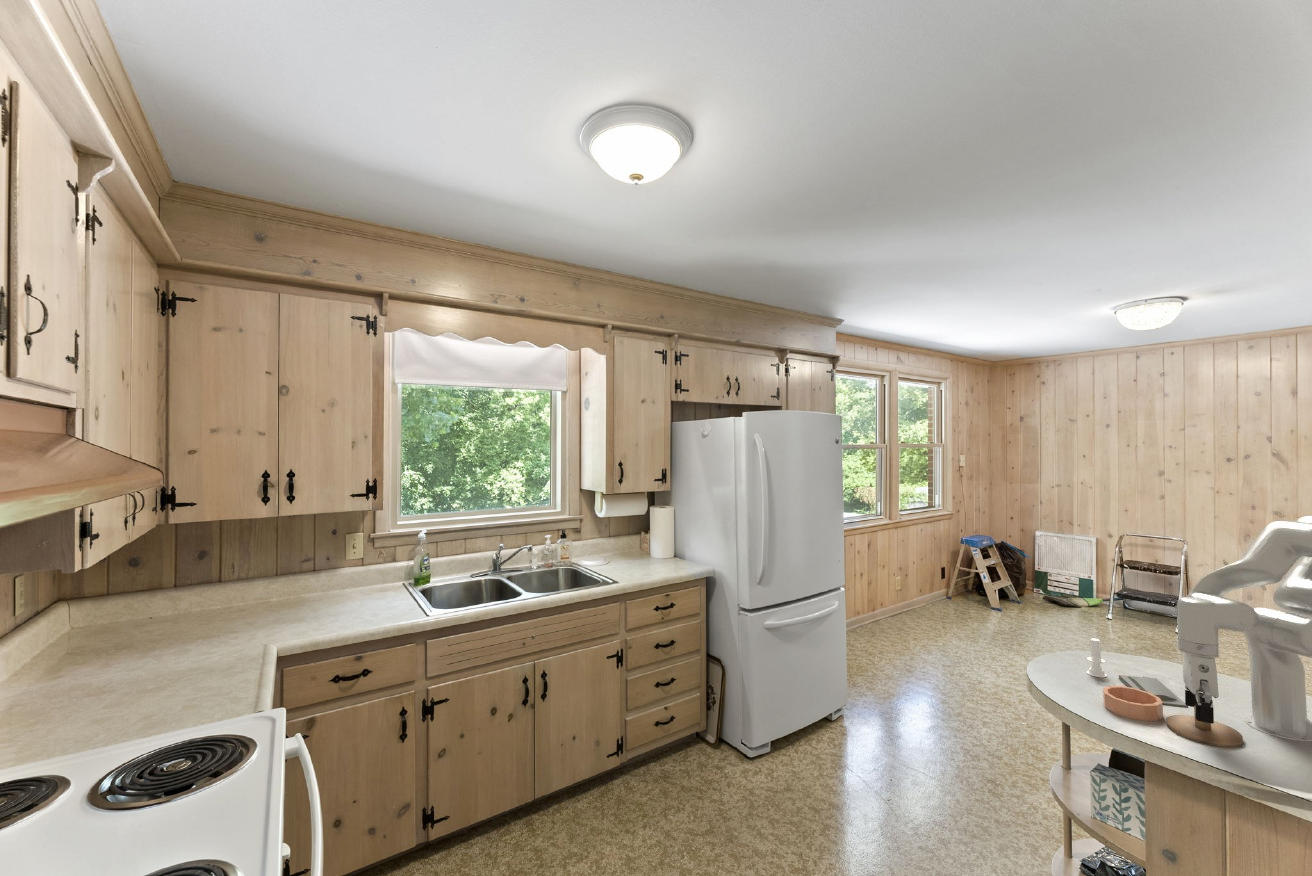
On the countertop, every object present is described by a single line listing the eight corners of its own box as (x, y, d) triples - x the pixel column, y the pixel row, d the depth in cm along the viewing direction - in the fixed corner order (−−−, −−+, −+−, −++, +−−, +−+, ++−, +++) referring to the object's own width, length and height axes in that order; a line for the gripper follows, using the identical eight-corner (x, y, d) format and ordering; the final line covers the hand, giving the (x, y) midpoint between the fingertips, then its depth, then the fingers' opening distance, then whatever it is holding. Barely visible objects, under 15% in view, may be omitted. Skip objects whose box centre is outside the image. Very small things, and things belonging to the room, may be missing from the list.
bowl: (1157, 709, 157) (1156, 691, 157) (1167, 728, 146) (1166, 709, 146) (1101, 699, 163) (1100, 682, 164) (1107, 717, 153) (1106, 699, 153)
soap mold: (1158, 684, 173) (1158, 673, 174) (1190, 713, 155) (1190, 700, 155) (1118, 680, 177) (1117, 669, 178) (1144, 707, 159) (1144, 695, 159)
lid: (1232, 727, 144) (1231, 703, 144) (1252, 752, 132) (1250, 726, 132) (1160, 714, 152) (1159, 692, 152) (1173, 737, 140) (1172, 713, 140)
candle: (1086, 669, 185) (1085, 633, 185) (1107, 673, 181) (1105, 636, 182) (1086, 675, 181) (1084, 638, 181) (1107, 679, 177) (1105, 641, 178)
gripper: (1229, 660, 133) (1230, 732, 133) (1207, 640, 148) (1208, 704, 147) (1187, 654, 137) (1188, 723, 137) (1170, 635, 152) (1171, 697, 151)
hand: (1199, 713), depth 142 cm, fingers open, 9 cm apart
